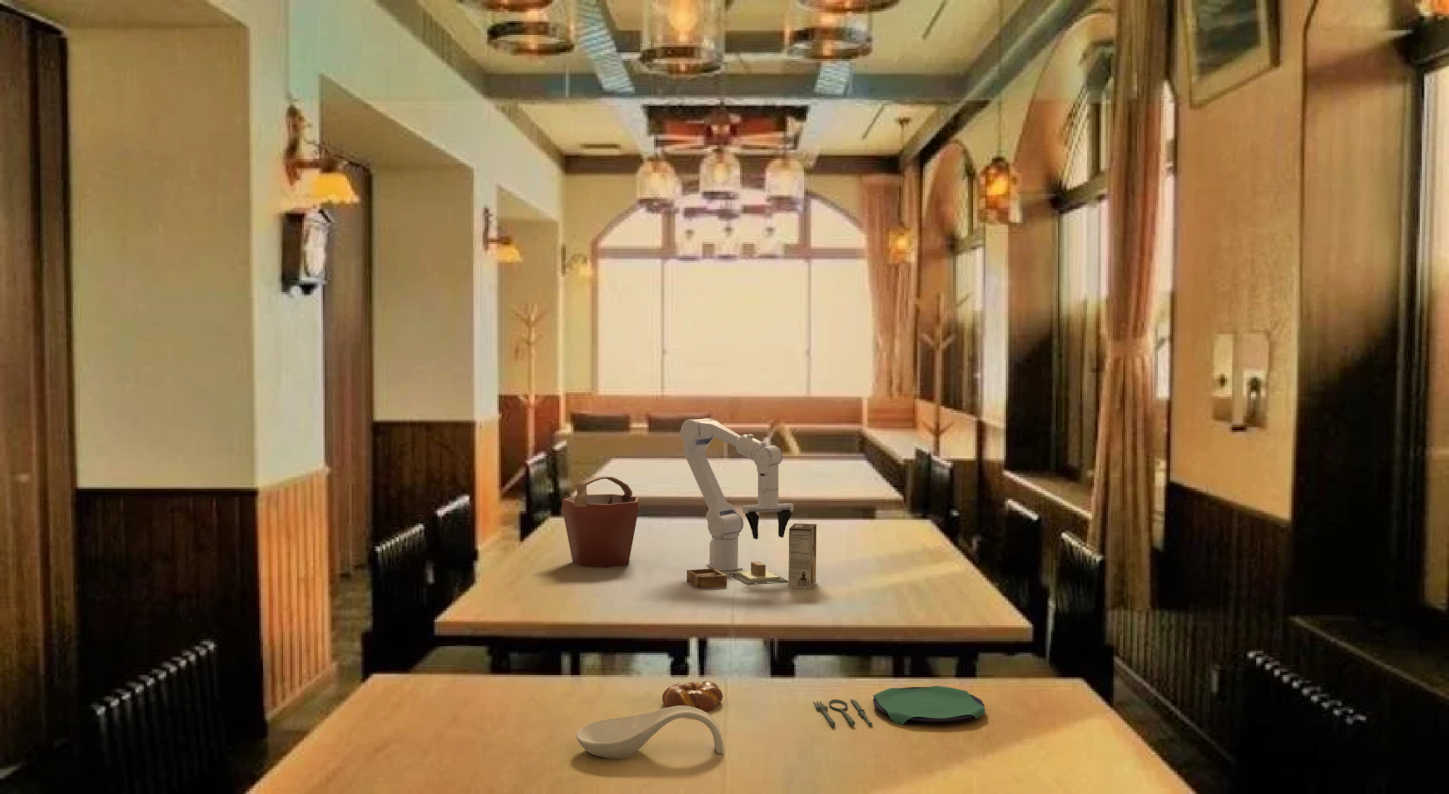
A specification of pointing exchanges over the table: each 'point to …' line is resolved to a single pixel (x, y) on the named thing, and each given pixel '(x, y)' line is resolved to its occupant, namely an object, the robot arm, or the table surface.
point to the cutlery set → (916, 705)
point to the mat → (756, 581)
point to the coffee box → (802, 555)
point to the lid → (758, 573)
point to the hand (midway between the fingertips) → (768, 537)
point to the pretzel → (693, 695)
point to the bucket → (600, 525)
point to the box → (706, 578)
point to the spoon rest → (638, 731)
